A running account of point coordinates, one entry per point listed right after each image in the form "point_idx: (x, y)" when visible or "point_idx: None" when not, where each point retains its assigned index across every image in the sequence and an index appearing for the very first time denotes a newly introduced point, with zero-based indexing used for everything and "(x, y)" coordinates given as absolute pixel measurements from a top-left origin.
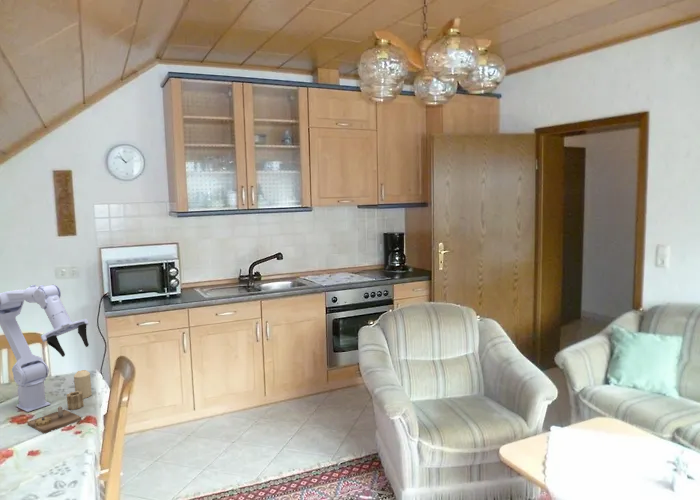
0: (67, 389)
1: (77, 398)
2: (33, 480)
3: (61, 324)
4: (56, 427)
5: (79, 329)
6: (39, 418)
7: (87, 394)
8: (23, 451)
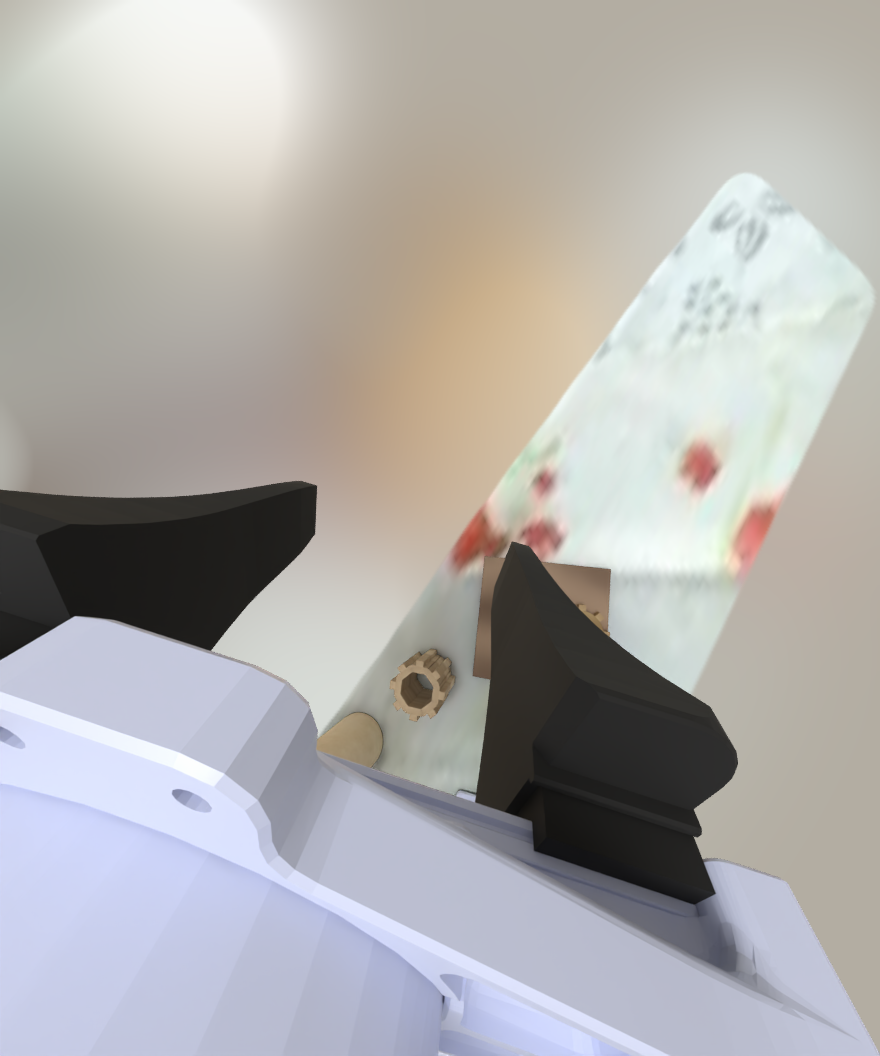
0: None
1: (426, 659)
2: (788, 306)
3: (188, 973)
4: (567, 565)
5: (133, 589)
6: None
7: (357, 716)
8: (716, 504)
